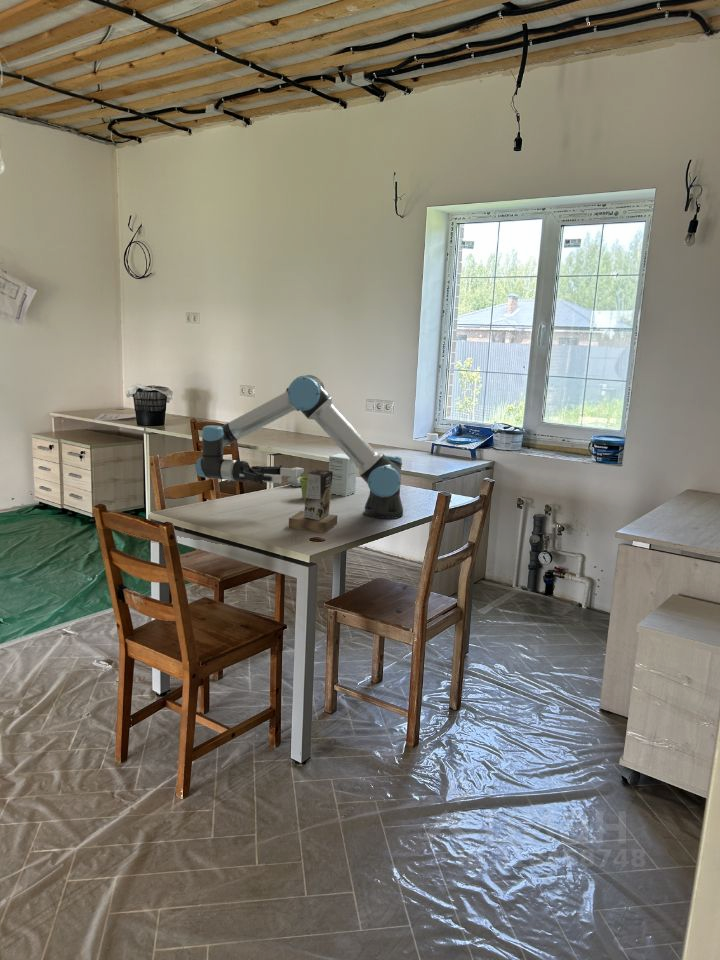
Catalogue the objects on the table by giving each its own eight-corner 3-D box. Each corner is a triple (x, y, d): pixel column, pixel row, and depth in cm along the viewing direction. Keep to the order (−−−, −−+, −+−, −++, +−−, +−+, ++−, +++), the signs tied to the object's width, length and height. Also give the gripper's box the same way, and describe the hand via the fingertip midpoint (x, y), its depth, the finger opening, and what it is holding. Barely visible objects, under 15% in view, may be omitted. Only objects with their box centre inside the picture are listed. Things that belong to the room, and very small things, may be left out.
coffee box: (320, 521, 233) (324, 475, 229) (303, 517, 235) (306, 472, 231) (329, 514, 242) (333, 471, 238) (312, 511, 243) (316, 468, 240)
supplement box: (337, 490, 300) (339, 453, 297) (355, 493, 297) (357, 455, 293) (327, 494, 292) (328, 455, 289) (346, 497, 288) (347, 458, 285)
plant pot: (310, 502, 274) (311, 481, 273) (293, 498, 280) (294, 478, 278) (325, 499, 282) (326, 479, 280) (308, 495, 287) (309, 475, 286)
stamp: (309, 486, 305) (310, 468, 303) (299, 488, 300) (300, 470, 298) (295, 483, 310) (295, 465, 309) (285, 485, 305) (285, 467, 303)
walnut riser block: (337, 526, 243) (337, 515, 242) (326, 534, 232) (326, 523, 231) (300, 521, 247) (301, 510, 246) (288, 529, 235) (288, 518, 234)
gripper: (251, 475, 259) (302, 480, 252) (218, 486, 235) (273, 493, 229) (252, 455, 257) (303, 460, 251) (218, 465, 234) (274, 471, 227)
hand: (289, 476), depth 240 cm, fingers open, 13 cm apart
